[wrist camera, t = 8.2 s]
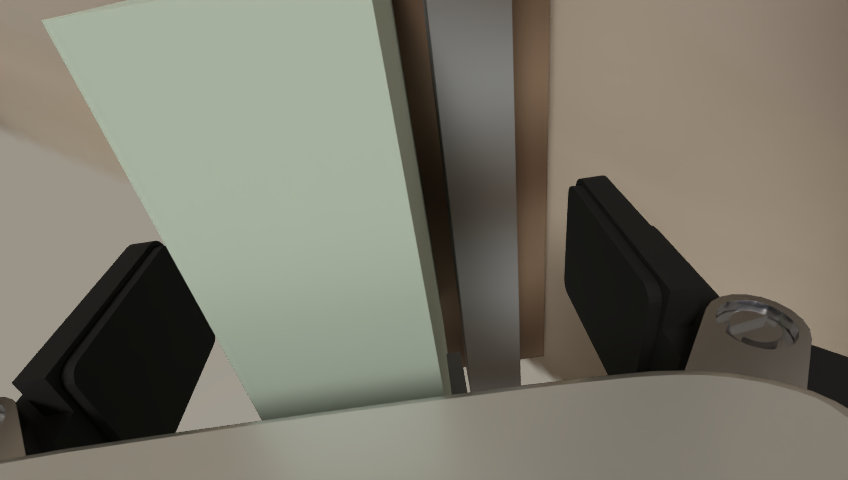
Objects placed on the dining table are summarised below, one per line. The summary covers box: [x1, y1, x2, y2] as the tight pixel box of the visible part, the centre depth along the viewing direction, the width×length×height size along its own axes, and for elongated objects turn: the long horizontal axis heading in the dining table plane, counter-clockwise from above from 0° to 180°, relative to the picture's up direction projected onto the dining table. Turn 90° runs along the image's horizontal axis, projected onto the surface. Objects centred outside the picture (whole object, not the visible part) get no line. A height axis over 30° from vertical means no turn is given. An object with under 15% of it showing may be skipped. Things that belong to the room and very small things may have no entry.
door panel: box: [41, 0, 467, 421], centre depth 11 cm, size 12×3×10 cm, turn 8°
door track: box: [392, 0, 550, 392], centre depth 15 cm, size 20×11×3 cm, turn 8°
